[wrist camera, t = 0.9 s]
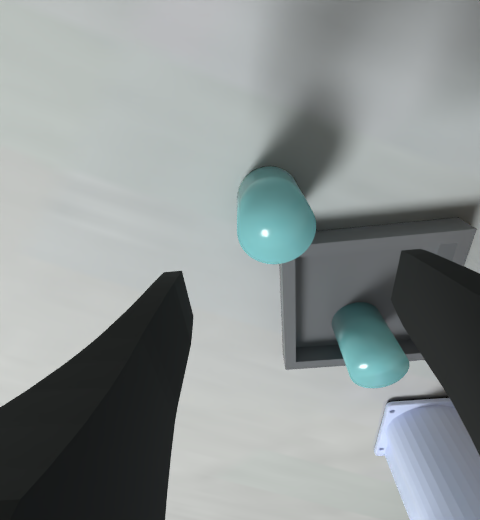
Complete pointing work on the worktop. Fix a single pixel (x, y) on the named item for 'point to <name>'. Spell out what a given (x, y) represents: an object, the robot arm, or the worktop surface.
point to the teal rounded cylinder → (368, 346)
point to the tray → (355, 282)
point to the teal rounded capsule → (273, 216)
